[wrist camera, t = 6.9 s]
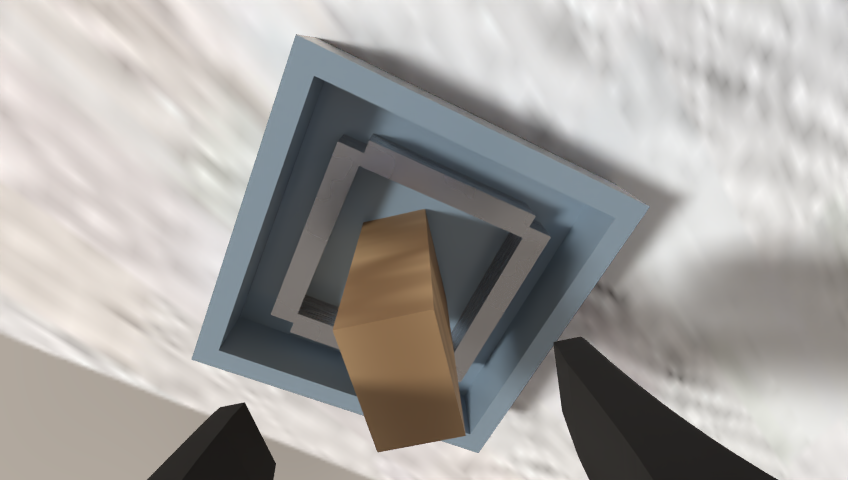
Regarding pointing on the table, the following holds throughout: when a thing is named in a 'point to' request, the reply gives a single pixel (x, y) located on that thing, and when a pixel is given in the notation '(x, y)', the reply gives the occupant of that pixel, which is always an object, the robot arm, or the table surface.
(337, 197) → the grey square frame
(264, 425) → the table surface
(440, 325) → the block
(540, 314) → the blue-grey square tray
